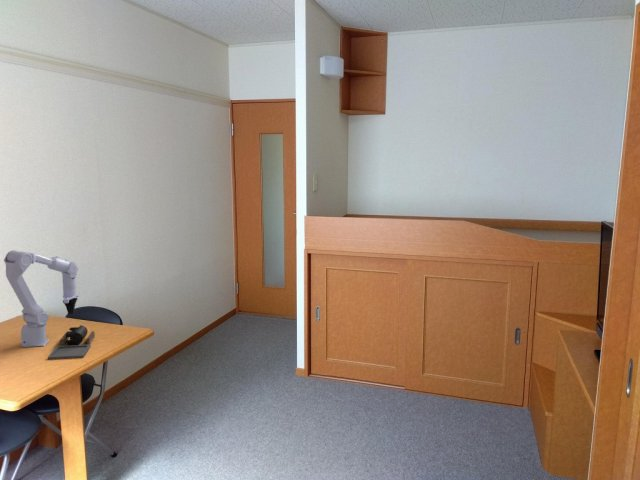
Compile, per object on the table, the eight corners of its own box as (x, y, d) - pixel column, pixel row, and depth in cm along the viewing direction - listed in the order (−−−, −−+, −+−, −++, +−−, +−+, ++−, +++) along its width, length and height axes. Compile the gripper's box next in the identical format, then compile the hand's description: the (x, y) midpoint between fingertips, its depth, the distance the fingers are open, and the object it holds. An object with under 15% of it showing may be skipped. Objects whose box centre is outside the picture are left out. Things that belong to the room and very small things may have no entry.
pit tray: (47, 359, 209) (47, 357, 209) (56, 348, 221) (56, 346, 221) (83, 357, 212) (83, 355, 212) (90, 346, 224) (90, 344, 224)
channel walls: (60, 346, 224) (59, 340, 223) (66, 338, 233) (66, 332, 233) (89, 345, 226) (89, 338, 226) (94, 337, 236) (94, 331, 235)
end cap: (82, 346, 225) (82, 332, 224) (65, 347, 223) (65, 332, 222) (88, 338, 234) (87, 324, 233) (71, 339, 233) (71, 325, 232)
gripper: (74, 289, 232) (76, 317, 234) (82, 282, 246) (83, 308, 248) (58, 290, 231) (59, 318, 233) (66, 282, 245) (68, 309, 247)
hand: (70, 313), depth 240 cm, fingers closed
